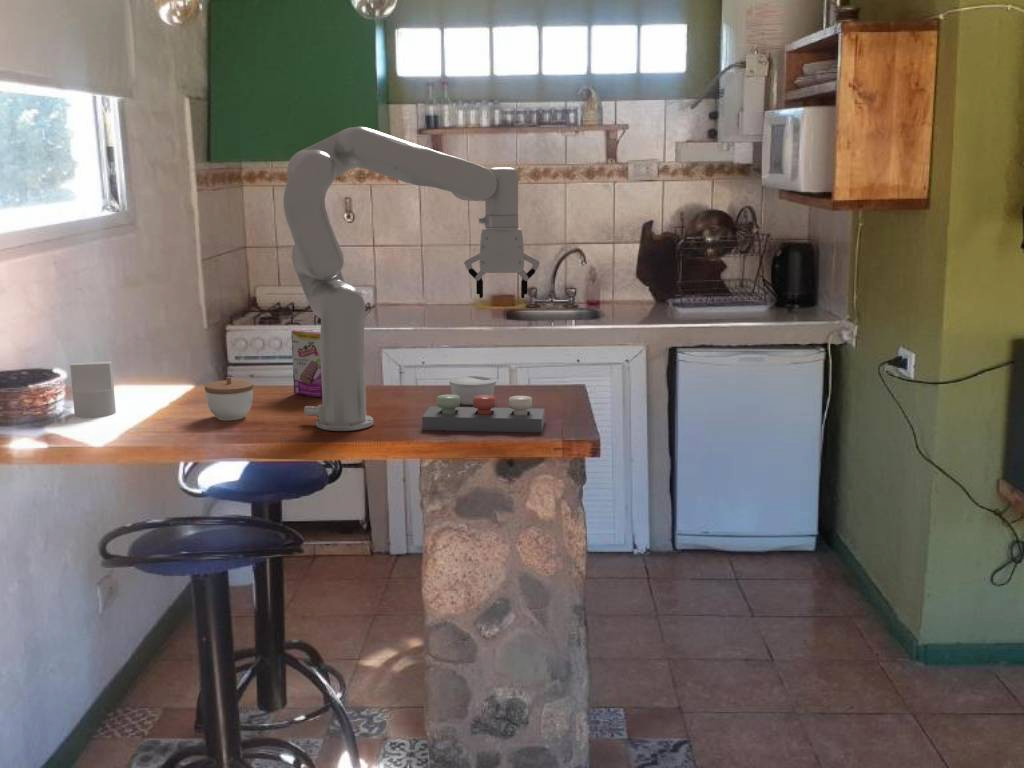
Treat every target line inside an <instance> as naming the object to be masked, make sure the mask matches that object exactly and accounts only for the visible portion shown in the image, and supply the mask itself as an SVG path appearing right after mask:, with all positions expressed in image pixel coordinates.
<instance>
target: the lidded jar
mask: <svg viewBox="0 0 1024 768" xmlns="http://www.w3.org/2000/svg"><path fill="white" fill-rule="evenodd" d="M204 390H205V400H206V405H207V408H208V409H209V411H210V412H211V413H212V414H213V415H214V416H215V417H216V419H217V420H219V421H225V422H226V421H238V420H242V419H244V418H245V416H246V415H247V414H248V413H249V411H250V410H251V409H252V404H253V401H254V383H253V382H252V381H248V380H243V379H232V377H231V376H228V377H226V380H225V379H224V380H217V381H212V382H208V383H206V384H205V385H204Z"/></svg>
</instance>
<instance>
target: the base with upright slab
mask: <svg viewBox="0 0 1024 768" xmlns="http://www.w3.org/2000/svg"><path fill="white" fill-rule="evenodd" d="M112 363H113V361H112V360H109V361H108V360H107V361H85V362H71V363H70V364H69V365H70V366H69V368H70V377H71V379H70V380H71V390H72V400H73V413H74V417H76V418H78V419H96V418H97V419H98V418H104V417H109V416H112V415H115V414H116V412H117V410H116V399H115V397H116V396H115V387H114V385H115V384H114V374H113V364H112Z"/></svg>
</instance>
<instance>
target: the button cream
mask: <svg viewBox="0 0 1024 768" xmlns="http://www.w3.org/2000/svg"><path fill="white" fill-rule="evenodd" d="M508 406H509V407H508V408H511V409H514V415H524V416H527V409H530V408H533V397H532V396H529V395H513V396H510V397H508Z"/></svg>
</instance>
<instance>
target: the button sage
mask: <svg viewBox="0 0 1024 768" xmlns="http://www.w3.org/2000/svg"><path fill="white" fill-rule="evenodd" d="M436 407H440V408H442V414H455V408H456V407H461V404H460V396H458V395H452V394H441V395H437V396H436Z"/></svg>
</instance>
